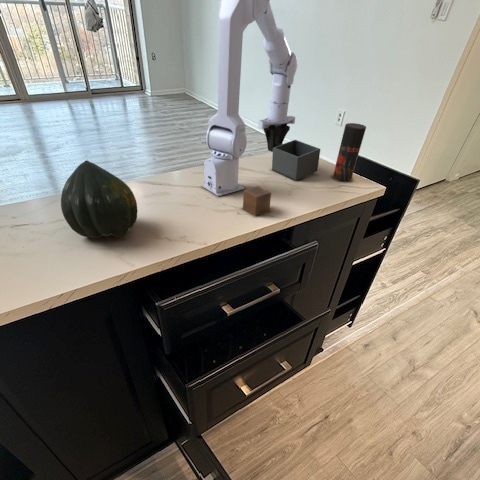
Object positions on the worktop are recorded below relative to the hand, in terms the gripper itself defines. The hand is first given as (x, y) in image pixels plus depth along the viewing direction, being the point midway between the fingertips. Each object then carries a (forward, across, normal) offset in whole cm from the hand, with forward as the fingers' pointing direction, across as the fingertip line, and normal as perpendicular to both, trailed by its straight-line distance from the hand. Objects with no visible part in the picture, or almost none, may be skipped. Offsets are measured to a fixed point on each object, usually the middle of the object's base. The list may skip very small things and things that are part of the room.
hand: (273, 150), depth 107 cm
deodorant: (+4, -10, +22) cm, 25 cm away
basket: (+4, -1, +7) cm, 8 cm away
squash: (+4, +64, +13) cm, 66 cm away
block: (+4, +28, +24) cm, 38 cm away
